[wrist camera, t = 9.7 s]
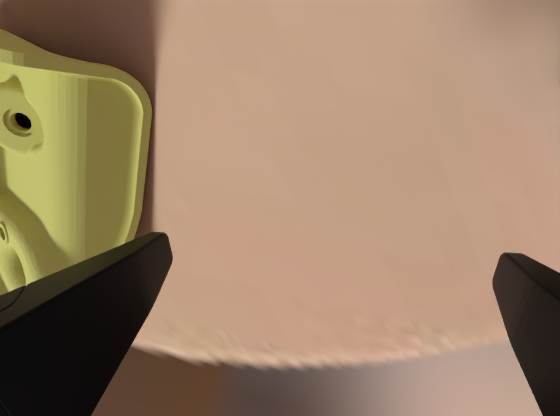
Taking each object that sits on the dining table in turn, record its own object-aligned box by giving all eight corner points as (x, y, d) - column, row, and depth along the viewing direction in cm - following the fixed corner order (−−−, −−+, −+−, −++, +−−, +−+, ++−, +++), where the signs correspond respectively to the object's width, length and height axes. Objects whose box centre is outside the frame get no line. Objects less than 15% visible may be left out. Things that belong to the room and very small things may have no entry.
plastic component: (-74, 9, 18) (5, 55, 14) (70, 36, 24) (156, 74, 20) (-29, 287, 26) (29, 368, 22) (69, 256, 32) (130, 316, 28)
